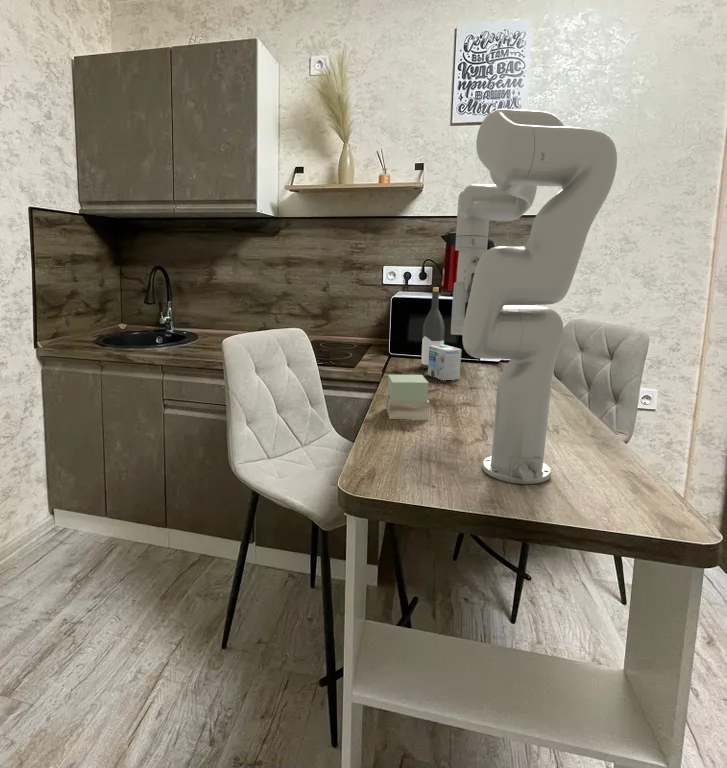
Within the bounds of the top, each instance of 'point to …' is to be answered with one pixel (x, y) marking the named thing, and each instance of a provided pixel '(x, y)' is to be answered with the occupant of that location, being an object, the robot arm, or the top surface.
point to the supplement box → (458, 308)
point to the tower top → (407, 388)
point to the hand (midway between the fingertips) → (466, 317)
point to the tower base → (407, 409)
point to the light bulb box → (444, 362)
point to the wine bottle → (432, 329)
